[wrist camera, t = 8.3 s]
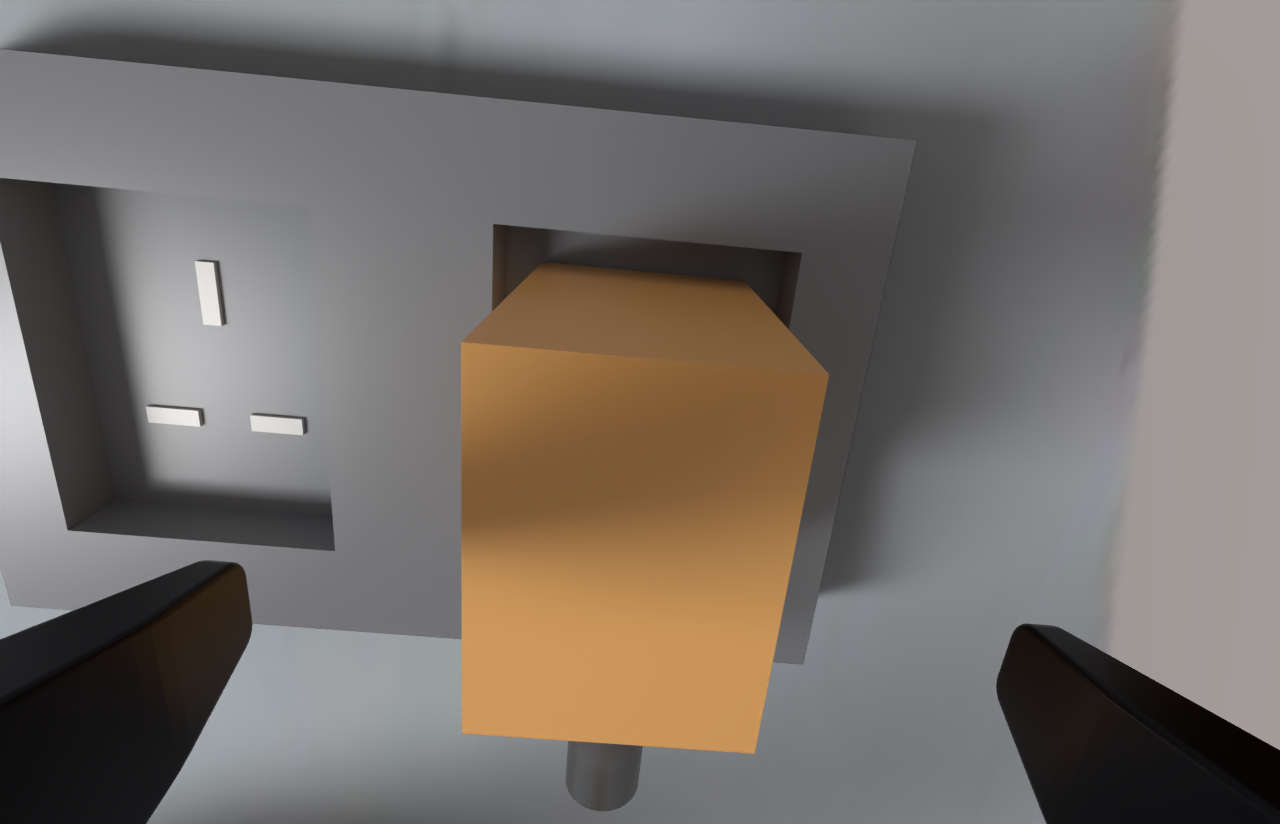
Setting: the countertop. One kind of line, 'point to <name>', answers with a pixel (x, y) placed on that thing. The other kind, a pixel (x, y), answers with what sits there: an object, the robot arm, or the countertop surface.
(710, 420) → the plug
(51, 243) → the socket plate
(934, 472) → the countertop surface
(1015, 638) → the robot arm
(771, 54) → the countertop surface
